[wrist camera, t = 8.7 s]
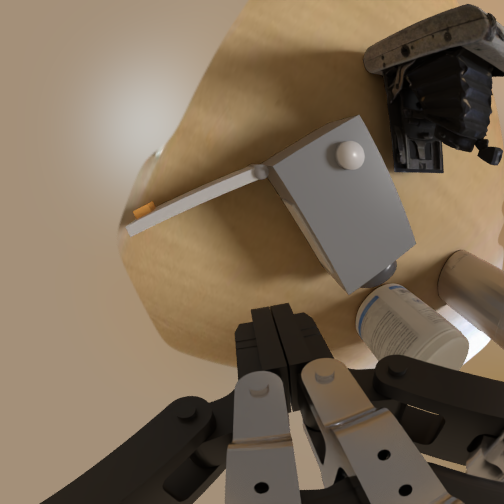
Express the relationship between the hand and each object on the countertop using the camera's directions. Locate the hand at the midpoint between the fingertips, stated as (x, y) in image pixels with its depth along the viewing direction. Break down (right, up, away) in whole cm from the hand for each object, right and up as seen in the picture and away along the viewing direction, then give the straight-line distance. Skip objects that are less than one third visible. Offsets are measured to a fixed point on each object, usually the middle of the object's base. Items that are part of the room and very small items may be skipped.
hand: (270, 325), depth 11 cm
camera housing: (+8, +8, +19) cm, 22 cm away
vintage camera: (+18, +21, +16) cm, 32 cm away
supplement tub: (+18, -5, +25) cm, 31 cm away
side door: (-6, +9, +17) cm, 20 cm away
